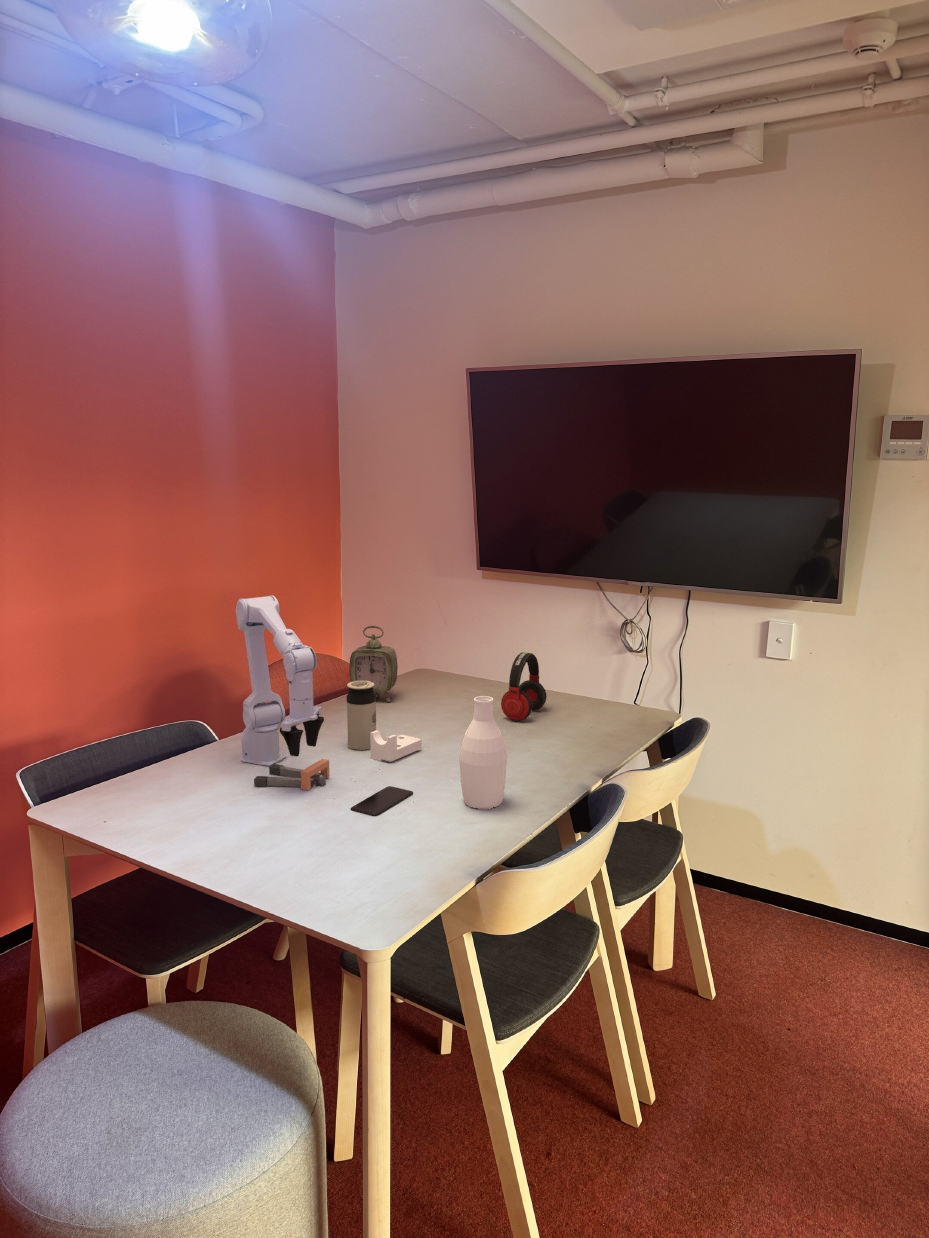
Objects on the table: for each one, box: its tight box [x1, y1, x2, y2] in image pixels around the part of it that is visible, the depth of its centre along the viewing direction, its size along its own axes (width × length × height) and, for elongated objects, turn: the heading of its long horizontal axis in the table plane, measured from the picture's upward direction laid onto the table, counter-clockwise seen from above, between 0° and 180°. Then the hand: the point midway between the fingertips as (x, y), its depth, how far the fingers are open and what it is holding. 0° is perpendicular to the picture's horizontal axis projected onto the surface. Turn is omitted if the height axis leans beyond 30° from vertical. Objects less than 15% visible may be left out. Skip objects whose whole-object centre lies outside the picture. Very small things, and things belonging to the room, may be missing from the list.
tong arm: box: [253, 775, 315, 788], centre depth 214 cm, size 14×2×2 cm, turn 85°
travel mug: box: [346, 681, 377, 751], centre depth 242 cm, size 8×8×18 cm
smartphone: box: [350, 785, 414, 817], centre depth 205 cm, size 8×1×16 cm
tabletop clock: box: [348, 625, 399, 703], centre depth 286 cm, size 14×9×25 cm, turn 81°
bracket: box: [370, 729, 423, 763], centre depth 236 cm, size 13×7×8 cm, turn 144°
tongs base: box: [268, 763, 327, 788], centre depth 219 cm, size 17×4×3 cm, turn 67°
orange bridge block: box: [300, 758, 331, 791], centre depth 216 cm, size 2×10×4 cm, turn 157°
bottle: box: [459, 695, 508, 810], centre depth 203 cm, size 11×11×25 cm
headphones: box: [500, 651, 547, 722], centre depth 270 cm, size 18×10×20 cm, turn 153°
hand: (303, 750), depth 213 cm, fingers open, 7 cm apart
